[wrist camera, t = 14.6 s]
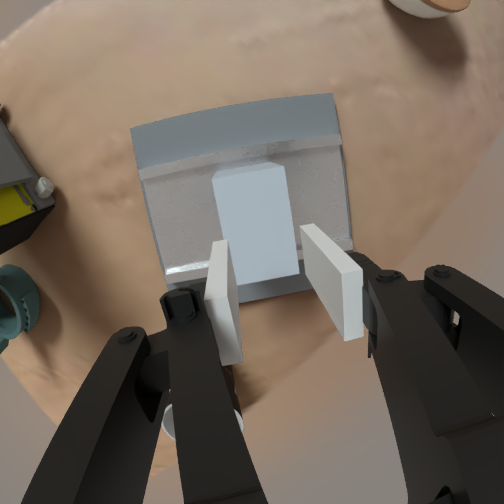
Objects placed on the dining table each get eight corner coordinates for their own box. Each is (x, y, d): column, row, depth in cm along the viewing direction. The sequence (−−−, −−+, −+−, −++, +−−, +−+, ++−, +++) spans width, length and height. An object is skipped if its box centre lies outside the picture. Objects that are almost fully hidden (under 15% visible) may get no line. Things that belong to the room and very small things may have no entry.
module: (269, 161, 29) (283, 166, 21) (282, 245, 31) (300, 277, 24) (216, 171, 29) (211, 179, 21) (232, 255, 31) (234, 289, 24)
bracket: (19, 330, 35) (-12, 365, 27) (-15, 275, 32) (-52, 303, 24) (55, 309, 35) (23, 347, 26) (19, 248, 32) (-23, 274, 23)
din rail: (335, 134, 29) (340, 133, 28) (347, 244, 33) (352, 249, 31) (142, 168, 29) (138, 169, 27) (169, 277, 33) (166, 284, 31)
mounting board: (328, 95, 29) (332, 93, 28) (349, 274, 36) (354, 280, 34) (134, 129, 29) (130, 128, 28) (177, 307, 35) (175, 313, 34)
